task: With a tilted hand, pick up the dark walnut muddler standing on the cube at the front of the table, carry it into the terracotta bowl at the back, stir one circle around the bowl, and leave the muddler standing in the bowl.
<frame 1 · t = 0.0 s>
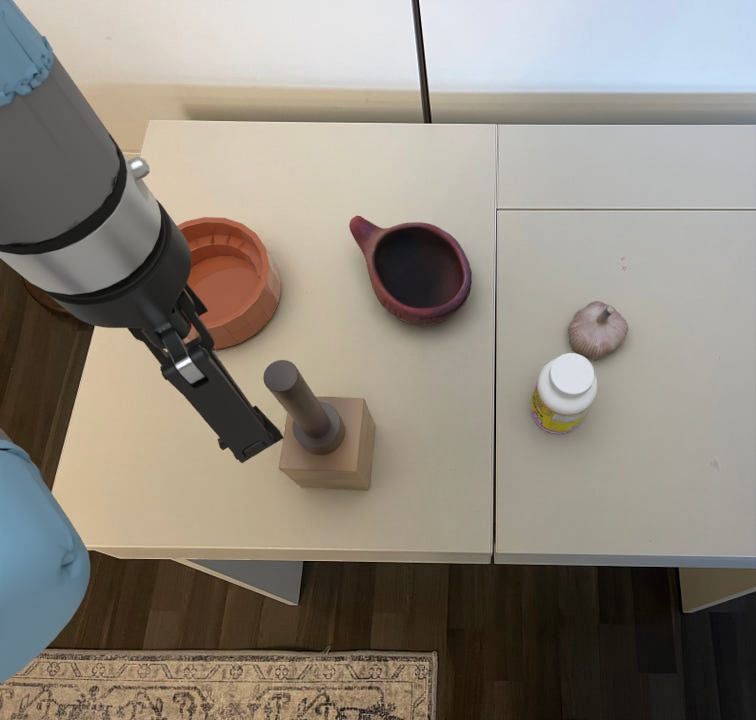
hand: (228, 377, 54), 26 cm above the table, tool pointing down, fingers open, 13 cm apart
mixing bowl: (221, 296, 86), on the table
bowl: (411, 290, 87), on the table
cube: (339, 455, 78), on the table
muddler: (322, 432, 69), point 10 cm above the table, touching cube
supplement bottle: (556, 410, 81), on the table
garlic bulb: (594, 338, 85), on the table
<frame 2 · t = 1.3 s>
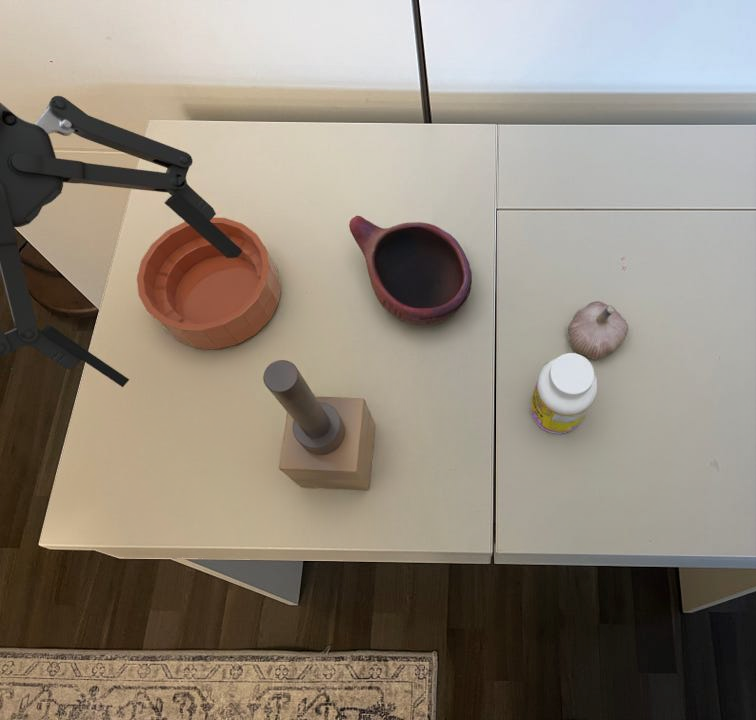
hand: (181, 315, 54), 28 cm above the table, tool tilted 45°, fingers open, 13 cm apart
nothing on the table moved.
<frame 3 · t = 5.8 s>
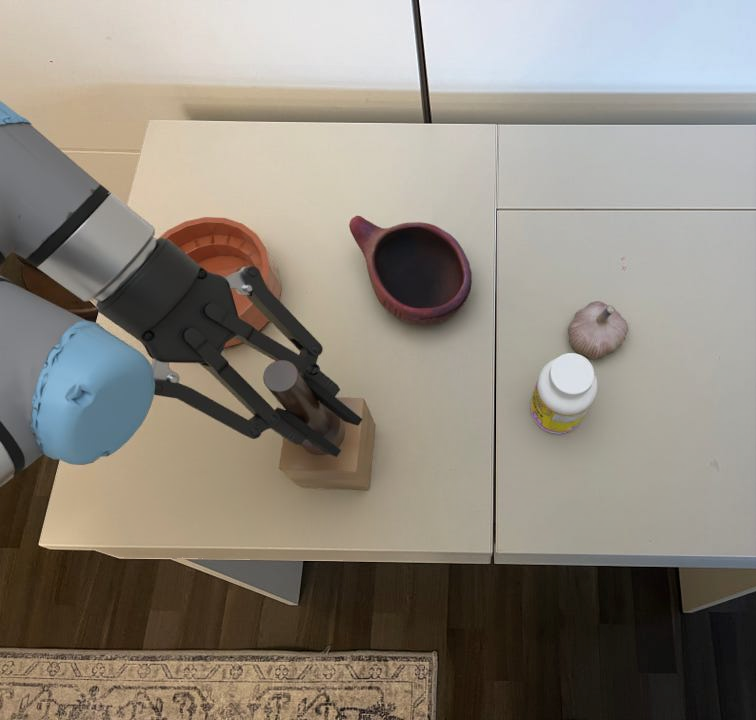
hand: (342, 435, 63), 16 cm above the table, tool tilted 45°, fingers closed on muddler, 3 cm apart
muddler: (322, 432, 69), point 10 cm above the table, touching gripper, cube
everything else where it was.
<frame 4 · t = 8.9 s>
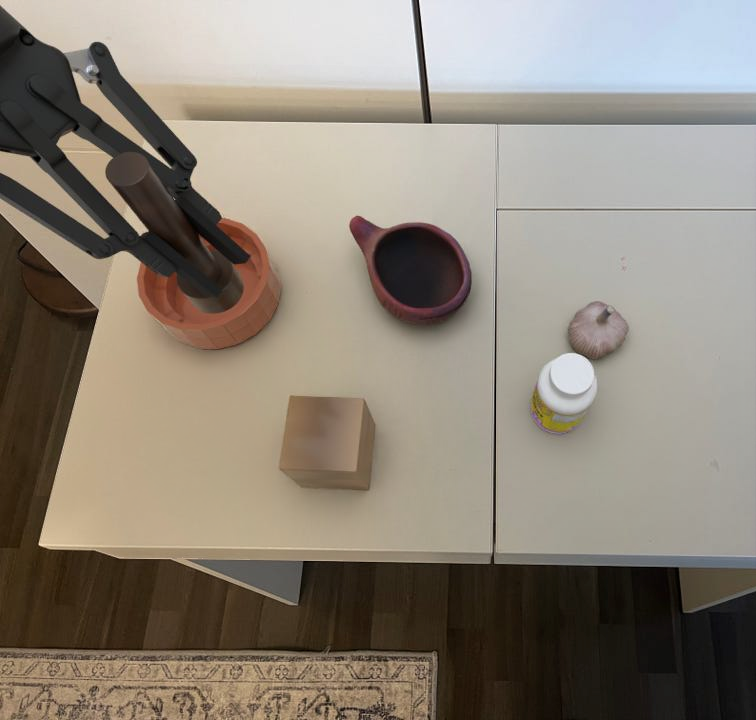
hand: (228, 276, 53), 30 cm above the table, tool tilted 45°, fingers closed on muddler, 3 cm apart
muddler: (216, 290, 59), point 24 cm above the table, touching gripper
everything else where it was.
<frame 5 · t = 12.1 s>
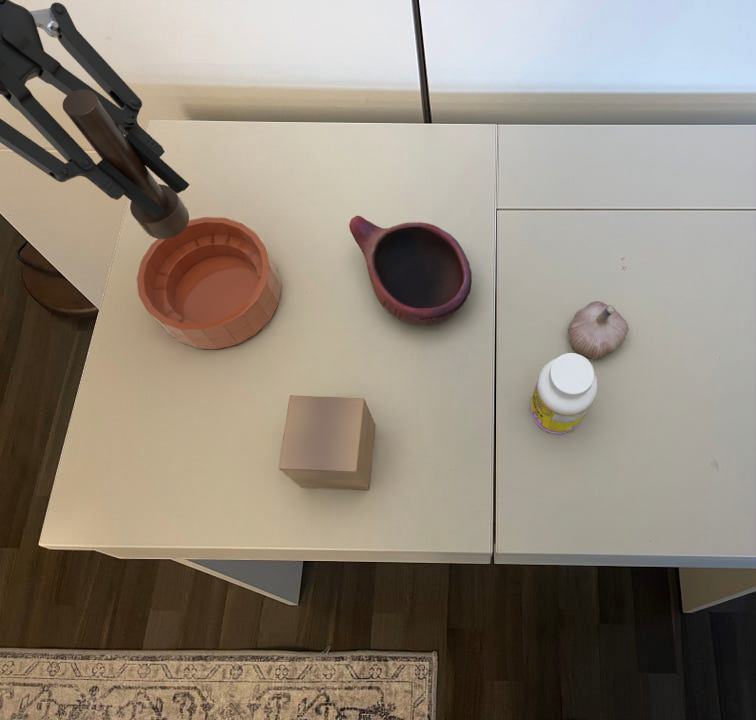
hand: (171, 201, 63), 23 cm above the table, tool tilted 45°, fingers closed on muddler, 3 cm apart
muddler: (166, 220, 70), point 17 cm above the table, touching gripper
everything else where it was.
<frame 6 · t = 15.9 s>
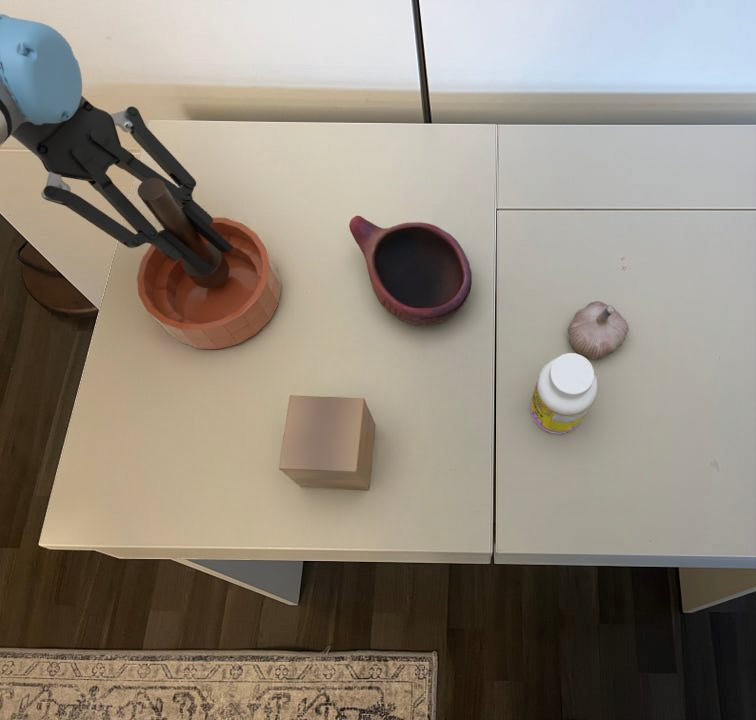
hand: (217, 260, 77), 10 cm above the table, tool tilted 45°, fingers closed on muddler, 3 cm apart
muddler: (210, 271, 83), point 3 cm above the table, touching gripper
everything else where it was.
when the fingers open (7 cm above the table, at t = 18.6 s): muddler stays where it is, resting on mixing bowl.
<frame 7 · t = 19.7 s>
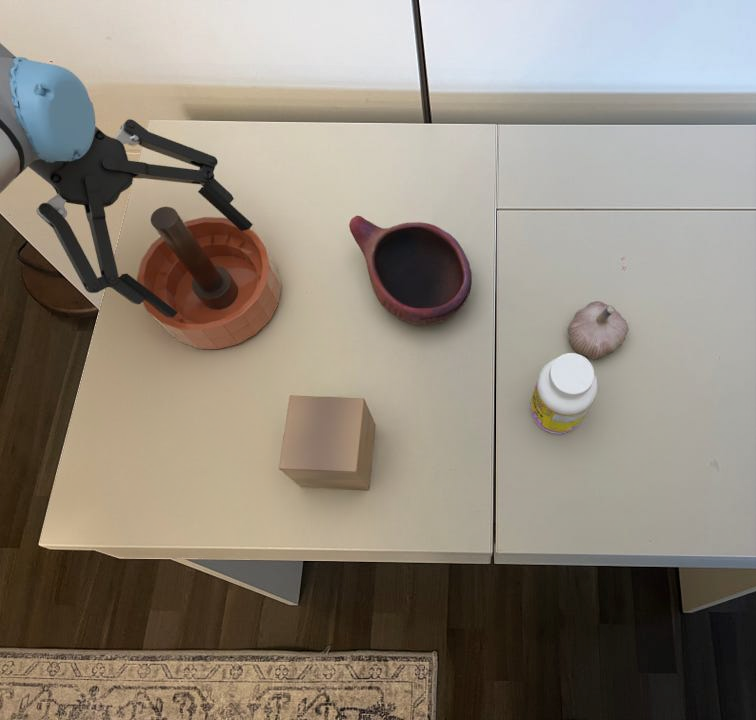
hand: (211, 270, 77), 9 cm above the table, tool tilted 45°, fingers open, 13 cm apart
muddler: (219, 293, 85), point 1 cm above the table, touching mixing bowl
everything else where it was.
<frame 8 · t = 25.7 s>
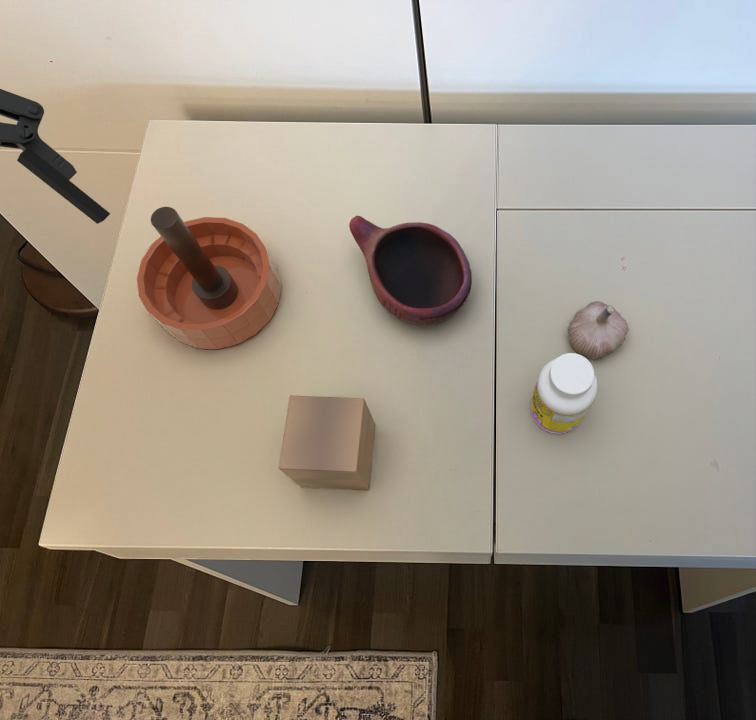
hand: (39, 286, 48), 34 cm above the table, tool tilted 45°, fingers open, 13 cm apart
nothing on the table moved.
at the end: muddler inside the target area in the mixing bowl (0.0 cm from its centre), point 0.8 cm above the mixing bowl's base; the gripper is holding nothing; muddler moved 28.6 cm from its start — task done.
